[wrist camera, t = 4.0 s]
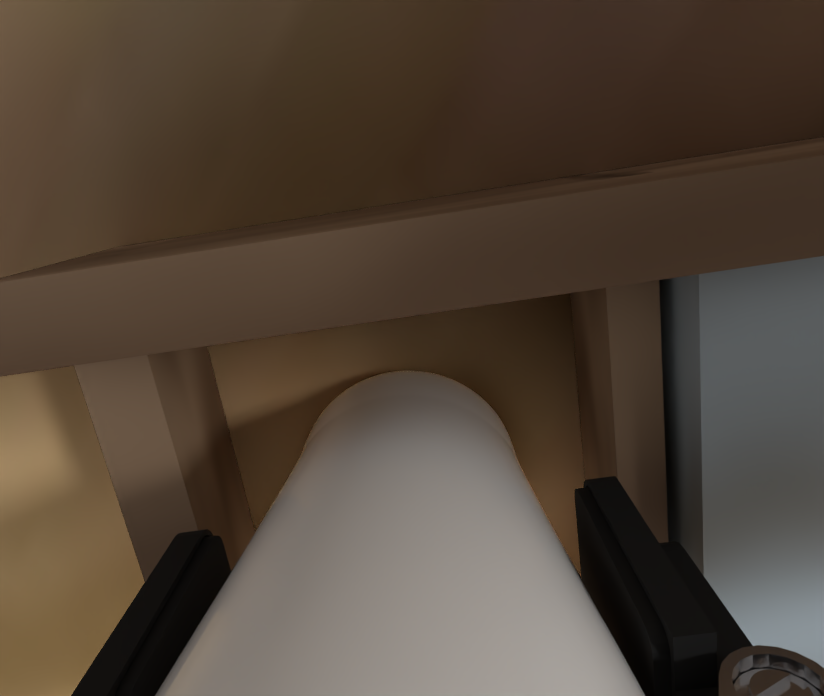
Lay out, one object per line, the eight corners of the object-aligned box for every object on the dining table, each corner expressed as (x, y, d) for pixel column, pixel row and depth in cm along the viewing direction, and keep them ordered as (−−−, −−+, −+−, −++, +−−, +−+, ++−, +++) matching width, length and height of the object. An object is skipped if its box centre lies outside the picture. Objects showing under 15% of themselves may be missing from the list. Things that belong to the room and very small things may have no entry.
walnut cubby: (116, 246, 14) (-34, 287, 9) (899, 125, 13) (1168, 101, 9) (242, 681, 18) (180, 868, 13) (863, 608, 17) (1038, 781, 12)
